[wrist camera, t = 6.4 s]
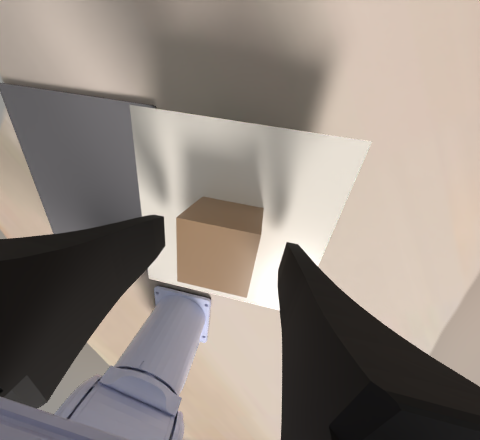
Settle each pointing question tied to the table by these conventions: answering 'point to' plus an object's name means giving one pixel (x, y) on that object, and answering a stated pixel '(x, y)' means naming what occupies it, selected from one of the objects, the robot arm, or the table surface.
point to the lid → (238, 197)
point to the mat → (77, 155)
